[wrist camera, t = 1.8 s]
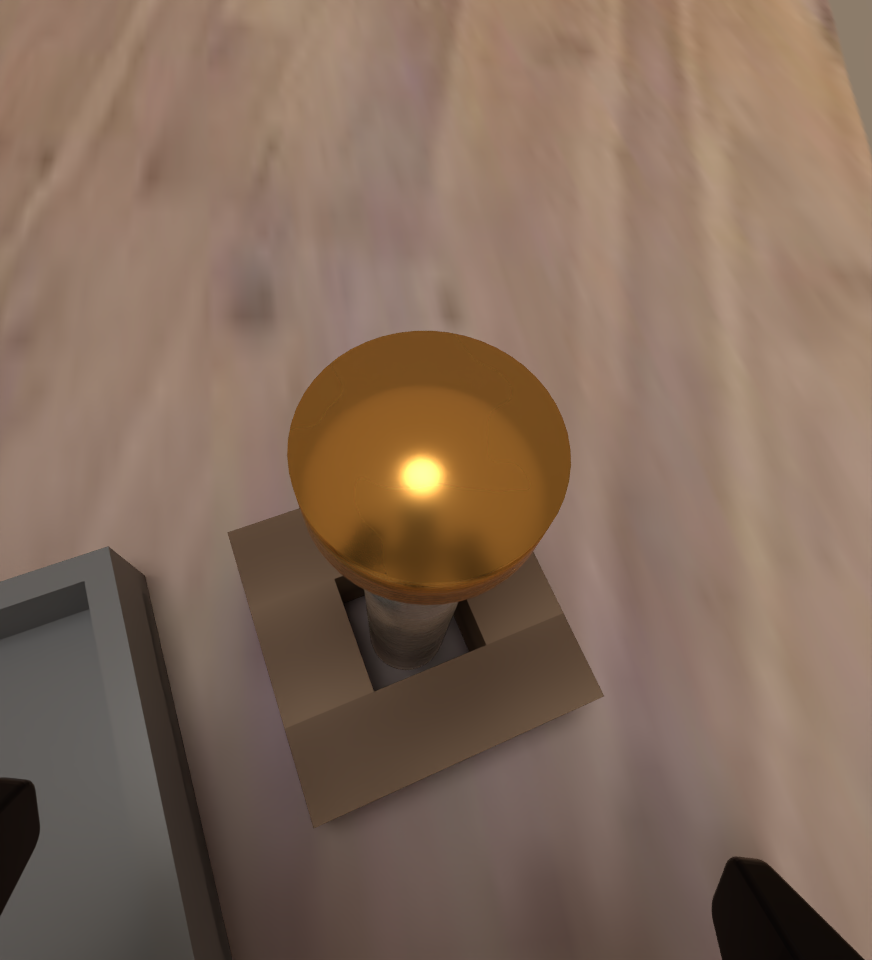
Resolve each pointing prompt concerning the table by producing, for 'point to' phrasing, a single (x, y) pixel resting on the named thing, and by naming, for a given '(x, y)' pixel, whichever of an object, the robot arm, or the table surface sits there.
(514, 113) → the table surface
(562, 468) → the pin
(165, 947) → the tray
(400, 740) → the hitch block
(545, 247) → the table surface
